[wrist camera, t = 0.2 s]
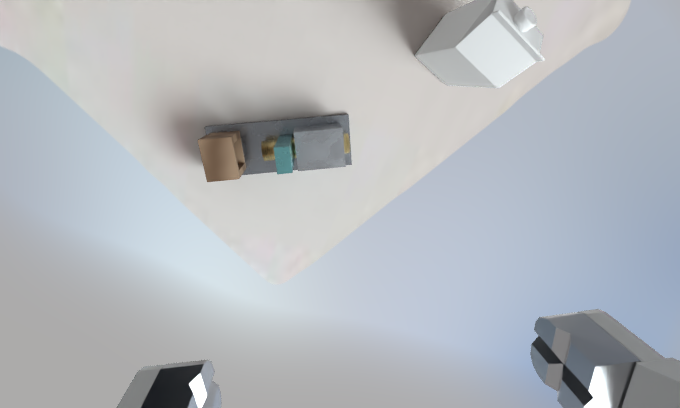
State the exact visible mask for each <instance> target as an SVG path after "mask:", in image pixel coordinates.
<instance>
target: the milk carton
mask: <svg viewBox="0 0 680 408" xmlns="http://www.w3.org/2000/svg"><path fill="white" fill-rule="evenodd" d="M536 23H537V18H536V15H535V14H534V12H533V11H532V10H531V9H530V8H529V7H527V6H526V7H524V8H522V9H520V8H519V7H518V6H517V5H516V3H515V2H514V1H513V0H474V1H472V2H470V3H468V4H466V5H464V6H462V7H459V8H457V9H455V10H453V11H451V12H449V13H447V14H445V16H444V17H443V18H442V20H441V21H440V22H439V24H438V25H437V26H436V28H435V29H434V30H433V32H432V33H431V34H430V36H429V37H428V38H427V40H426V41H425V42H424V44H423V45H422V46H421V47H420V49H419V50H418V51H417V53H416V54H415V57H416V58H417V59H418V60H419V61H420V62H421V63H422V64H424V65H425V66H426V67H427V68H428V69H429V70H430V71H431V72H432V73H433V74H435V75H436V76H437V77H438V78H439V79H440V80H441V81H442V82H443V83H444V84H446V85H448V86H466V87H485V88H500V87H501V86H503V85H504V84H505V83H507V82H508V81H510V80H511V79H513V78H514V77H515V76H517V75H518V74H520V73H521V72H523V71H524V70H526V69H527V68H528V67H530V66H531V65H533V64H534V63H536V62H537V61H544V60H545V59H544V57H543V56H542V55H541V54H540V49H541V45H542V40H543V34H542V32H541V31H540V30H539V29H538V28H537V27H536V26H535V25H536Z"/></svg>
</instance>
